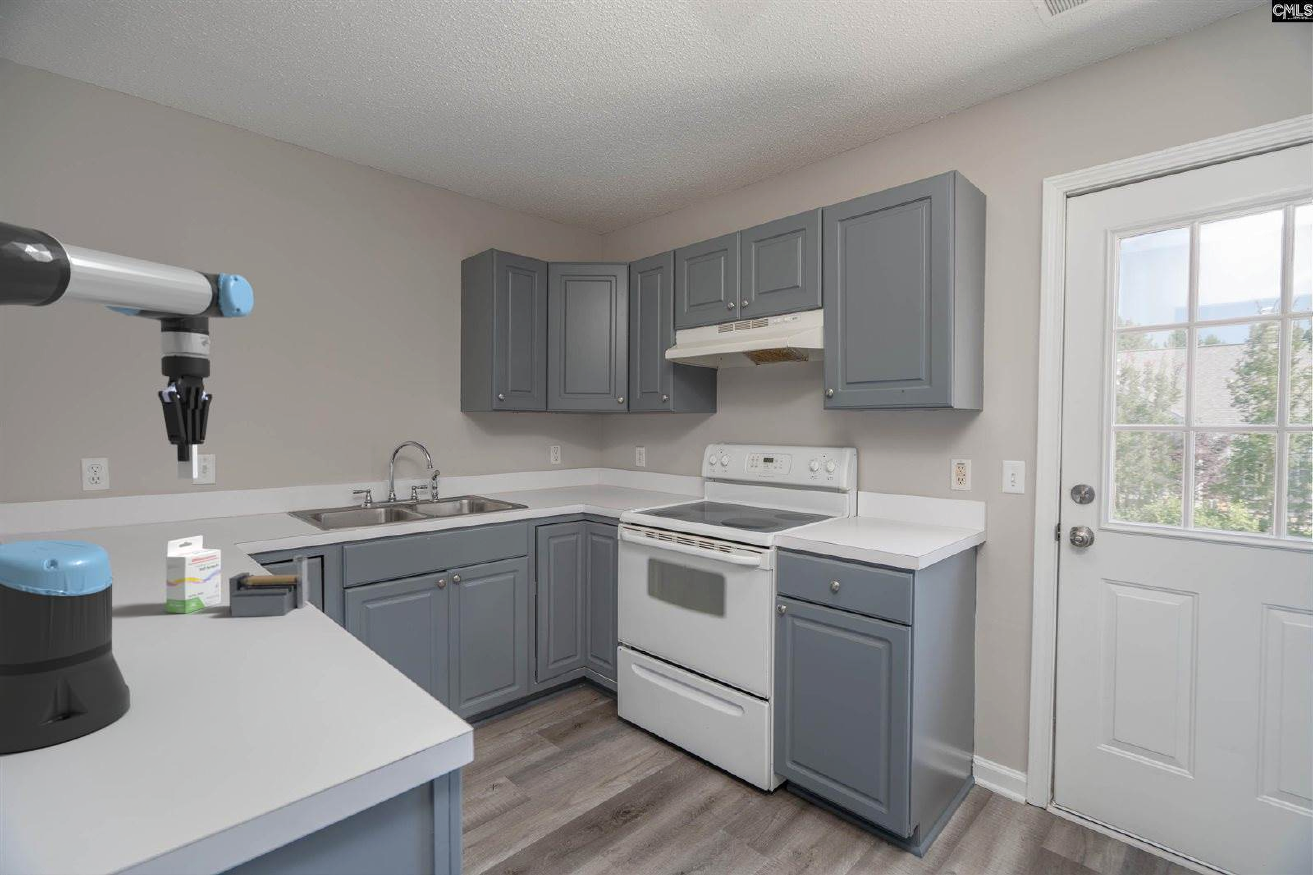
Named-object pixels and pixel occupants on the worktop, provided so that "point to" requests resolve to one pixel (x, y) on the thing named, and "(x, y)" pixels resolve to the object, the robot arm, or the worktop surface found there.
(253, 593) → the heatsink
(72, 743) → the worktop surface
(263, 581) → the strap
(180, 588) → the ink box
